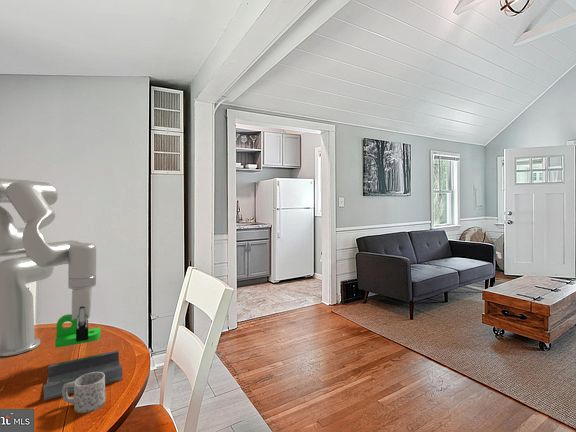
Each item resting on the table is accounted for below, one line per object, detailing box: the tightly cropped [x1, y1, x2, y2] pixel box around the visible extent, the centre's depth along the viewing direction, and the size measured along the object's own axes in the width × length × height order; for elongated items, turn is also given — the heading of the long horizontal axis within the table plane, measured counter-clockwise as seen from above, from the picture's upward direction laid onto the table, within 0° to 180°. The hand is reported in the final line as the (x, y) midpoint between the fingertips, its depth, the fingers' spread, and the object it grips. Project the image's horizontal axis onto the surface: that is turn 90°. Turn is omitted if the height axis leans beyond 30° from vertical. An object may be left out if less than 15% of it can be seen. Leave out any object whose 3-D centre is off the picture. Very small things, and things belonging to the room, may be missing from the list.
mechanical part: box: [54, 313, 101, 349], centre depth 103 cm, size 12×6×8 cm, turn 122°
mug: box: [61, 372, 106, 414], centre depth 80 cm, size 10×7×7 cm, turn 92°
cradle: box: [43, 349, 124, 401], centre depth 92 cm, size 13×18×4 cm
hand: (82, 335), depth 103 cm, fingers closed on mechanical part, 6 cm apart
